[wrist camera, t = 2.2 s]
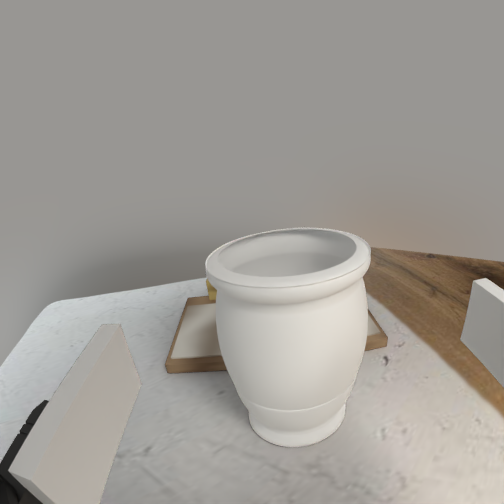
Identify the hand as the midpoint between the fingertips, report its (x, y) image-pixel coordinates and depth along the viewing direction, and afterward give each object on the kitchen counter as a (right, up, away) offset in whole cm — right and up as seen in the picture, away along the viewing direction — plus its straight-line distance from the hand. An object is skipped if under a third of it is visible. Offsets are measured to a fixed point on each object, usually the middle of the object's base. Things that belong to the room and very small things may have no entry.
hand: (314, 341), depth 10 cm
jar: (+2, -11, +14) cm, 18 cm away
